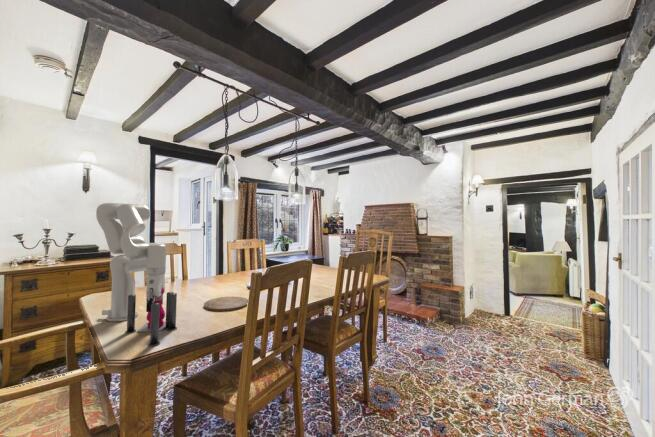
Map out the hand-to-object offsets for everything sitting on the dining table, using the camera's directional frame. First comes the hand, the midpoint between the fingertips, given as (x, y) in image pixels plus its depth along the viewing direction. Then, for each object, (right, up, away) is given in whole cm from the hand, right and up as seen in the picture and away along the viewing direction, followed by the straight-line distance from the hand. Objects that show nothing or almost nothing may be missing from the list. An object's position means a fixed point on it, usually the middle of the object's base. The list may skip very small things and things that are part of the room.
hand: (154, 308), depth 125 cm
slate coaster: (0, -9, 0) cm, 9 cm away
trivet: (+20, -11, +37) cm, 43 cm away
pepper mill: (0, -8, 0) cm, 8 cm away
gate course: (+2, -9, -10) cm, 13 cm away
